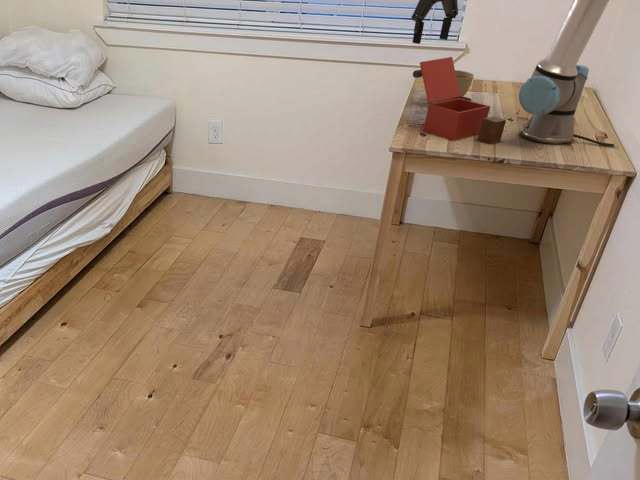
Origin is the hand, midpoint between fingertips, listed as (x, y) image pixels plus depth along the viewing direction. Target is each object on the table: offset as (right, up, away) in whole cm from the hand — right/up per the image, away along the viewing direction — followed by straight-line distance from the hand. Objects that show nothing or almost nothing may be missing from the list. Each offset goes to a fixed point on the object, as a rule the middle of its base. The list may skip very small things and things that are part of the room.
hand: (429, 41), depth 230 cm
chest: (+9, -30, +3) cm, 31 cm away
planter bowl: (+19, -8, +34) cm, 40 cm away
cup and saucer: (+17, -19, +19) cm, 32 cm away
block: (+17, -36, -6) cm, 40 cm away
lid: (+4, -13, +1) cm, 13 cm away
